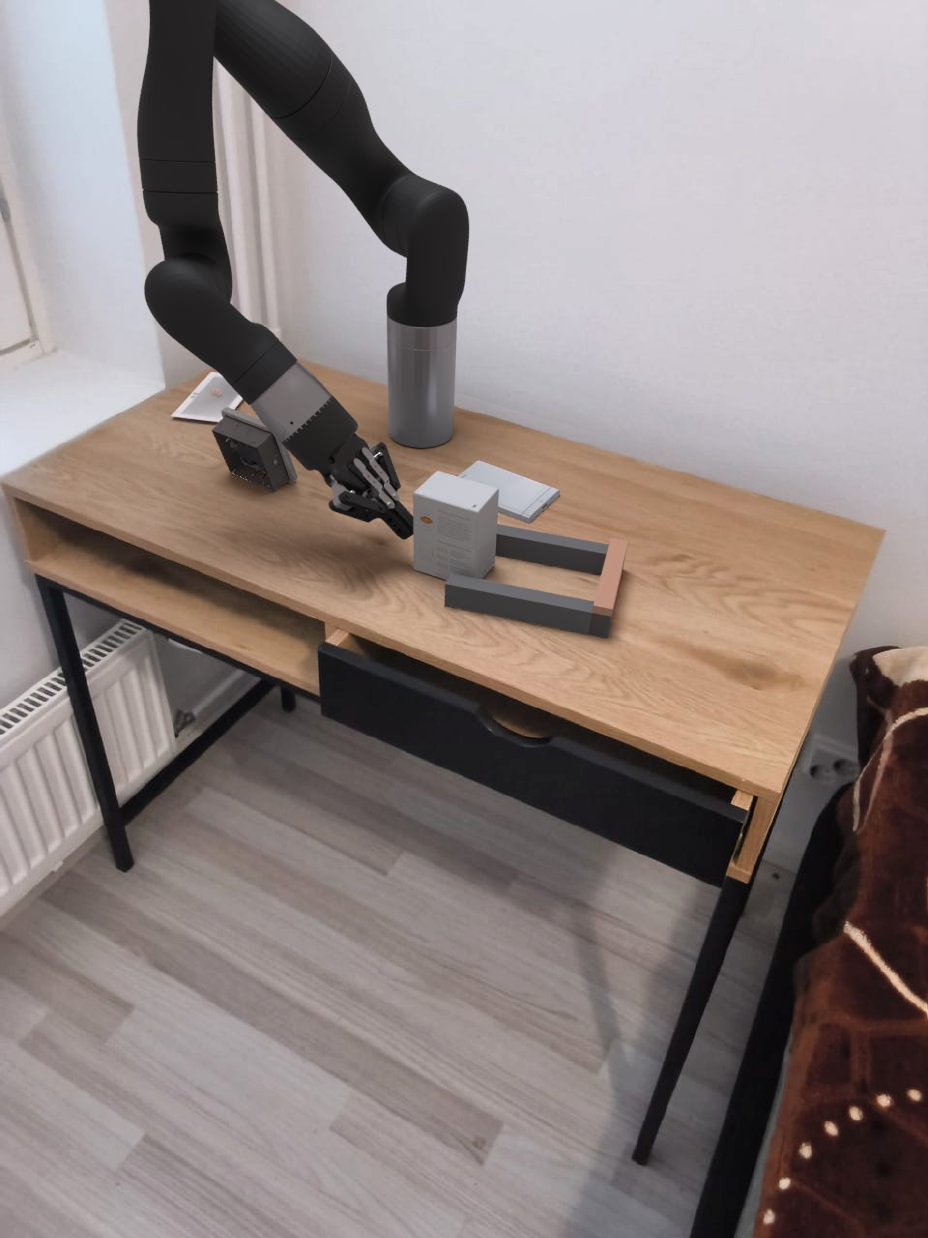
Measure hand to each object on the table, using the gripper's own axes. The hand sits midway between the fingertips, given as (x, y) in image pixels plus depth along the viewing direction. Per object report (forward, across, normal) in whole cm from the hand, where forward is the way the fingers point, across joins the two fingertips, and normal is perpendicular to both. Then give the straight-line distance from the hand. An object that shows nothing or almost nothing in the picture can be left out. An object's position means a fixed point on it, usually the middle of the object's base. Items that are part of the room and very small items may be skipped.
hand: (411, 532), depth 104 cm
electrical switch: (-14, +11, +20) cm, 27 cm away
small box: (+7, +1, 0) cm, 7 cm away
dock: (+14, 0, -8) cm, 16 cm away
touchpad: (-24, +30, +32) cm, 50 cm away
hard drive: (+8, +18, -1) cm, 20 cm away
